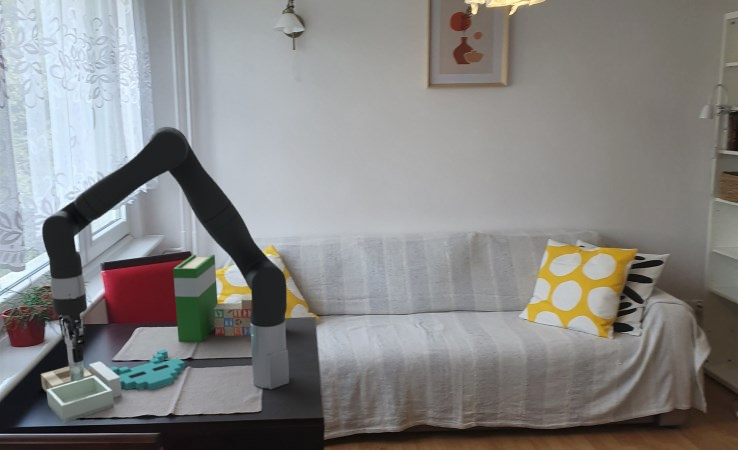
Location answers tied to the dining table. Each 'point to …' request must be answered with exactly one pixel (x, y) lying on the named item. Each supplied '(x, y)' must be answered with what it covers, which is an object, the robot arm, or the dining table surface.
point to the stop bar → (106, 377)
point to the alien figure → (150, 372)
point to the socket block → (58, 377)
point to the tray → (79, 398)
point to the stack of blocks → (233, 317)
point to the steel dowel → (74, 364)
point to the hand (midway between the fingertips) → (75, 359)
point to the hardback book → (195, 297)
